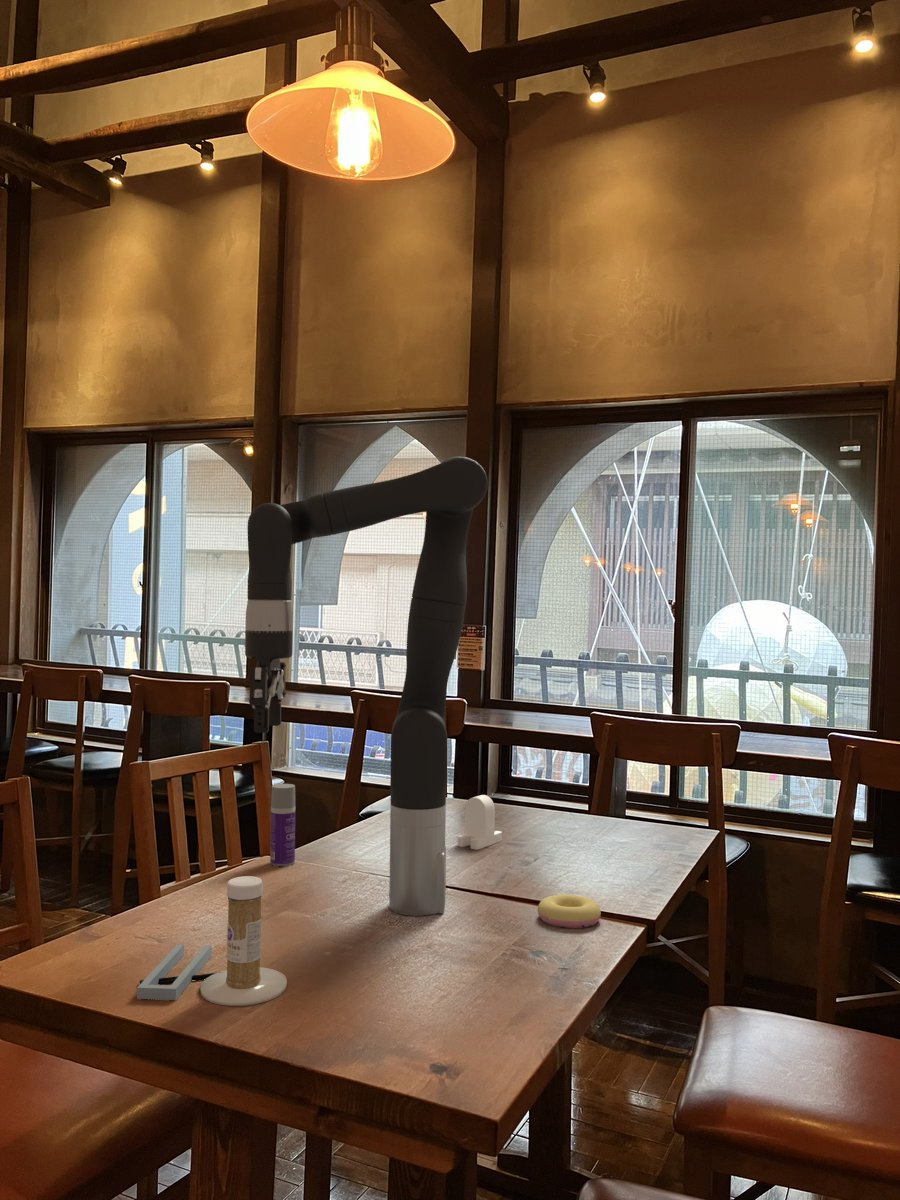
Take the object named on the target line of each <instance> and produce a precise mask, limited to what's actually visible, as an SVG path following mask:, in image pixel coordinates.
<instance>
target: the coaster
mask: <svg viewBox="0 0 900 1200" xmlns="http://www.w3.org/2000/svg"><path fill="white" fill-rule="evenodd" d="M220 972H221V973H218V972H214V973H215V974H213V975H211V976H209V977H208V978H206V979H205V980H203V981H202V982H201V984H200V994H201V996H203V997H202V998H203V999H204V998H205V999H204V1000H206V1001H208V1002H210V1003H213V1004H215V1005H219V1006H226V1007H228V1006H229V1007H244V1006H253V1005H257V1004H262V1003H266V1002H268V1001H271V1000H273V999H275V998H278V997H279V996H280V995H281V996H282V994H283V993H284V992H285V991H286V989H287V984H288V983H287V981H288V980H287V977H286V975H284V974H283V973H282V972H280V971H278V970H275V969H272V968H269V967H268V968H267V967H263V966H262V967H261V966H260V976H261V980H260V982H259V983H258V984H256V985H254V986H251V987H248V988H233V987H230V986H228V985H227V983H226V977H227V969H225V970H221V971H220Z"/></svg>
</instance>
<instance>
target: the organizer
mask: <svg viewBox="0 0 900 1200" xmlns="http://www.w3.org/2000/svg"><path fill="white" fill-rule="evenodd" d="M464 806H465V807H464V833H463V834H460V835H457V847H461V848H464V847H467V846H470V849H471V850H480V849H483V848H487V847H489V846H491V845H492V846H493V845H494V844H498V843H500V842H502V841H503V831H501V830H495V825H496V824H495V820H496V819H495V818H496V816H495V811H496V808H495V804H494V801H493V799H492V798H491V797H489V795H486V794H481V795H476V796H474V797H470V798H469V799H468V800H467V801H466V803H465V804H464Z"/></svg>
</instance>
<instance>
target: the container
mask: <svg viewBox="0 0 900 1200" xmlns="http://www.w3.org/2000/svg"><path fill="white" fill-rule="evenodd" d="M269 842H270V848H269V849H270V851H269V852H270V855H269V856H270V857H269V859H270V860H269V862H270V863H269V864H270V866H272V865H273V867H276V866H285V867H290V866H289V865H291V866H293V865H295V863H296V861H295V859H296V785H295V784H294V783H293V784H292V783H276V784H273V785H271V802H270V841H269ZM292 864H293V865H292Z"/></svg>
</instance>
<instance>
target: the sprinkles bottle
mask: <svg viewBox="0 0 900 1200" xmlns="http://www.w3.org/2000/svg"><path fill="white" fill-rule="evenodd" d="M226 885H227V886H226V896H227V901H228V906H227V907H228V909H227V914H228V915H227V922H228V923H227V937H226V938H227V939H226V944H227V945H226V959H227V960H226V961H227V962H226V965H227V966H226V970H227V977H226V983H227V985H228V986H230V987H233V988H248V987H251V986H254V985H256V984H258V983H259V982H260V980H261V976H260V967H261V956H262V953H261V952H262V895H263V893H264V892H263V887H264V886H263V879H261V878H260V877H257V876H252V875H251V876H250V875H247V876H246V875H245V876H243V875H242V876H237V877H233V878H231V879H229V880H227V884H226Z"/></svg>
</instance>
